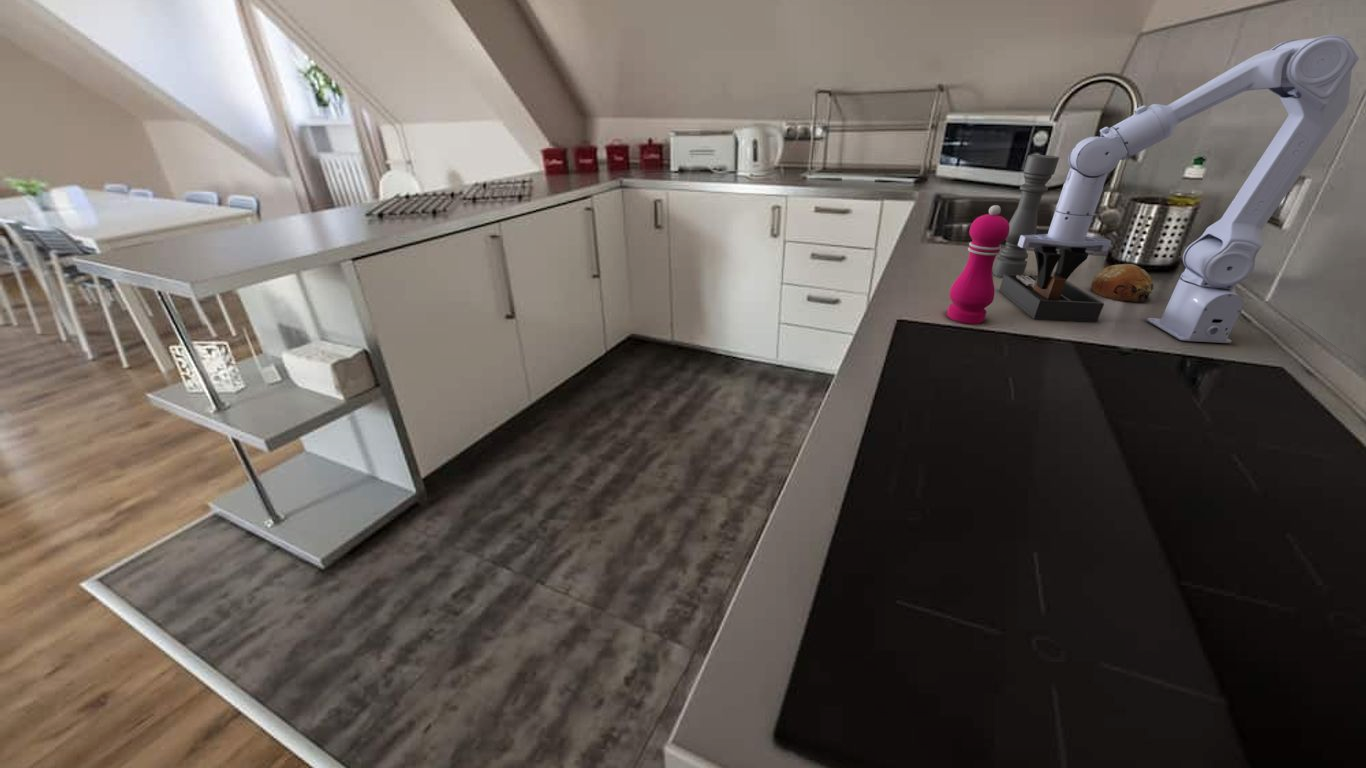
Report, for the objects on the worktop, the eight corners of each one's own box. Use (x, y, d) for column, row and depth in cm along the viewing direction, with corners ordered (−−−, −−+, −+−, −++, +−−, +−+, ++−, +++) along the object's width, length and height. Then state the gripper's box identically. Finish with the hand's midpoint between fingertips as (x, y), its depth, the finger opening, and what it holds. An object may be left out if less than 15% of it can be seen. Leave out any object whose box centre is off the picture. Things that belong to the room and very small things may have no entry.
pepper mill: (991, 326, 98) (1027, 210, 89) (948, 323, 100) (978, 208, 90) (981, 312, 105) (1012, 202, 95) (940, 309, 106) (967, 200, 96)
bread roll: (1128, 306, 119) (1132, 269, 119) (1166, 302, 109) (1170, 260, 109) (1080, 304, 120) (1083, 266, 120) (1112, 299, 110) (1117, 258, 109)
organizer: (1096, 322, 101) (1104, 303, 99) (1033, 319, 102) (1040, 300, 100) (1054, 293, 115) (1059, 276, 113) (998, 290, 116) (1003, 273, 114)
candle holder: (986, 272, 127) (1019, 155, 115) (1004, 269, 130) (1039, 154, 118) (1010, 280, 122) (1047, 158, 111) (1029, 277, 125) (1067, 157, 113)
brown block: (1060, 300, 101) (1067, 279, 99) (1046, 300, 101) (1053, 278, 99) (1027, 278, 113) (1033, 258, 111) (1015, 277, 113) (1021, 258, 111)
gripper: (1105, 209, 100) (1078, 282, 106) (1020, 206, 101) (999, 279, 107) (1129, 217, 93) (1098, 295, 100) (1038, 214, 94) (1014, 291, 101)
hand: (1048, 287), depth 103 cm, fingers closed on brown block, 2 cm apart
